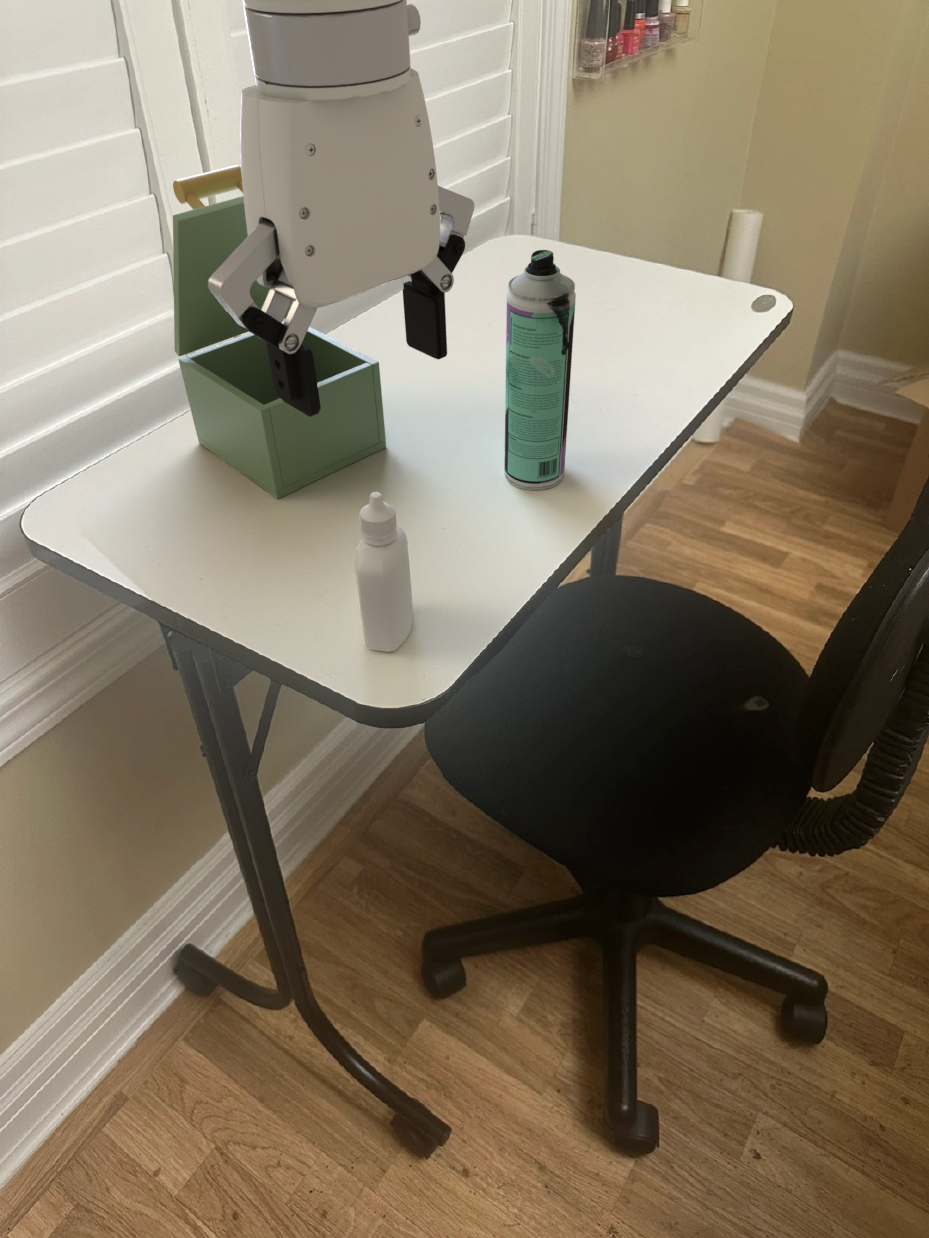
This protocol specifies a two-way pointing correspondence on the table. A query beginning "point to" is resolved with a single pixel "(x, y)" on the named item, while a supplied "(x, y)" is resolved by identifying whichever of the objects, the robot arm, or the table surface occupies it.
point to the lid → (206, 258)
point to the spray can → (538, 373)
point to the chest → (284, 411)
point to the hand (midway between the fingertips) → (366, 378)
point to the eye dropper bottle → (383, 577)
